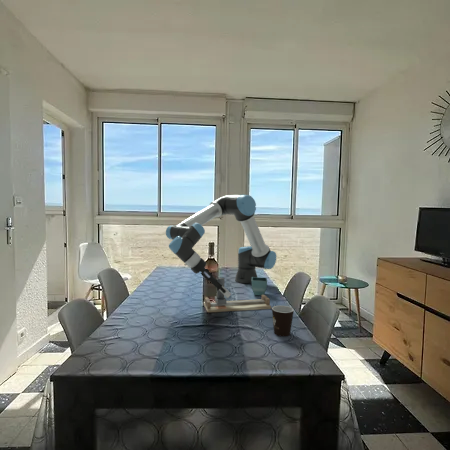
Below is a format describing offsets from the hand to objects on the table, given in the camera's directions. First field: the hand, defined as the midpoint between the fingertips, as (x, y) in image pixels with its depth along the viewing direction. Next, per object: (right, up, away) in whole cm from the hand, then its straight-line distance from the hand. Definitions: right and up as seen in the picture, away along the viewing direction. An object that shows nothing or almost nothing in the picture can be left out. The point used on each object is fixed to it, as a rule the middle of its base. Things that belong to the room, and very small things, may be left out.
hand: (228, 294), depth 161 cm
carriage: (-4, -3, -1) cm, 5 cm away
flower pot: (+18, -5, +24) cm, 30 cm away
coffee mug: (+22, -9, -29) cm, 38 cm away
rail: (+4, -6, +1) cm, 8 cm away
